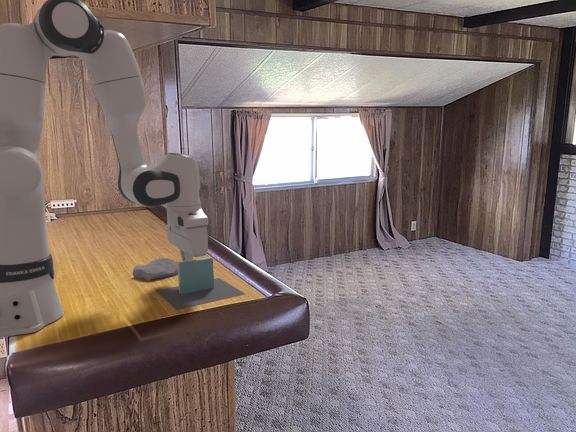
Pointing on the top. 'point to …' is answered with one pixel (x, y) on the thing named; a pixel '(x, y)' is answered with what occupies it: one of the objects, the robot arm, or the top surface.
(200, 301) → the mat
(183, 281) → the tile
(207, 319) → the top surface
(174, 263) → the stone block
